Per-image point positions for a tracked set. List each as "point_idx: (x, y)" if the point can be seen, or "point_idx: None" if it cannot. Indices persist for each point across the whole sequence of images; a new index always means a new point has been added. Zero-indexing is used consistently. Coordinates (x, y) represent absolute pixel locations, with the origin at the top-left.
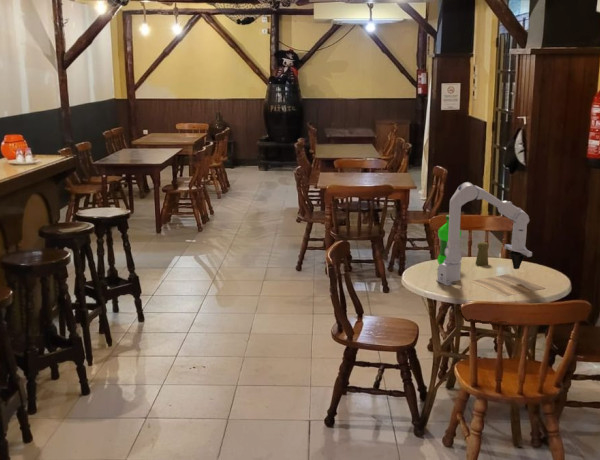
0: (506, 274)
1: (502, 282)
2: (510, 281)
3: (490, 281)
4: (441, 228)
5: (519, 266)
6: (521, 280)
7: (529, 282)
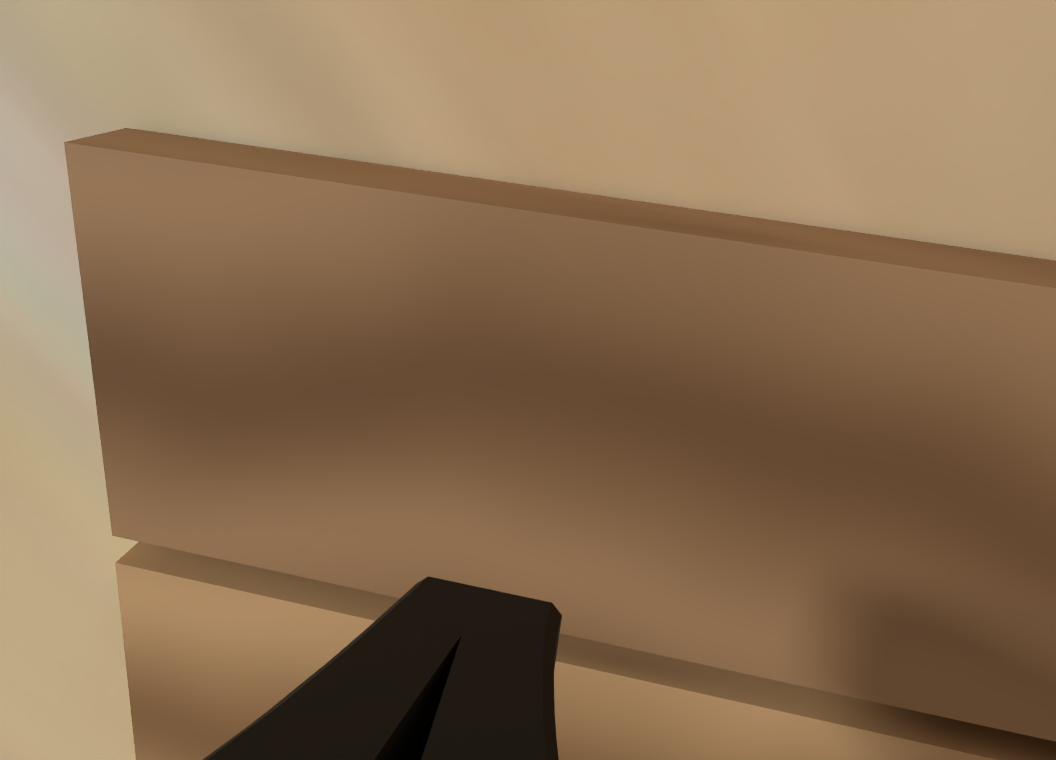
0: (84, 224)
1: None
2: (571, 611)
3: None
4: None
5: (552, 693)
6: (704, 340)
7: (1005, 308)
